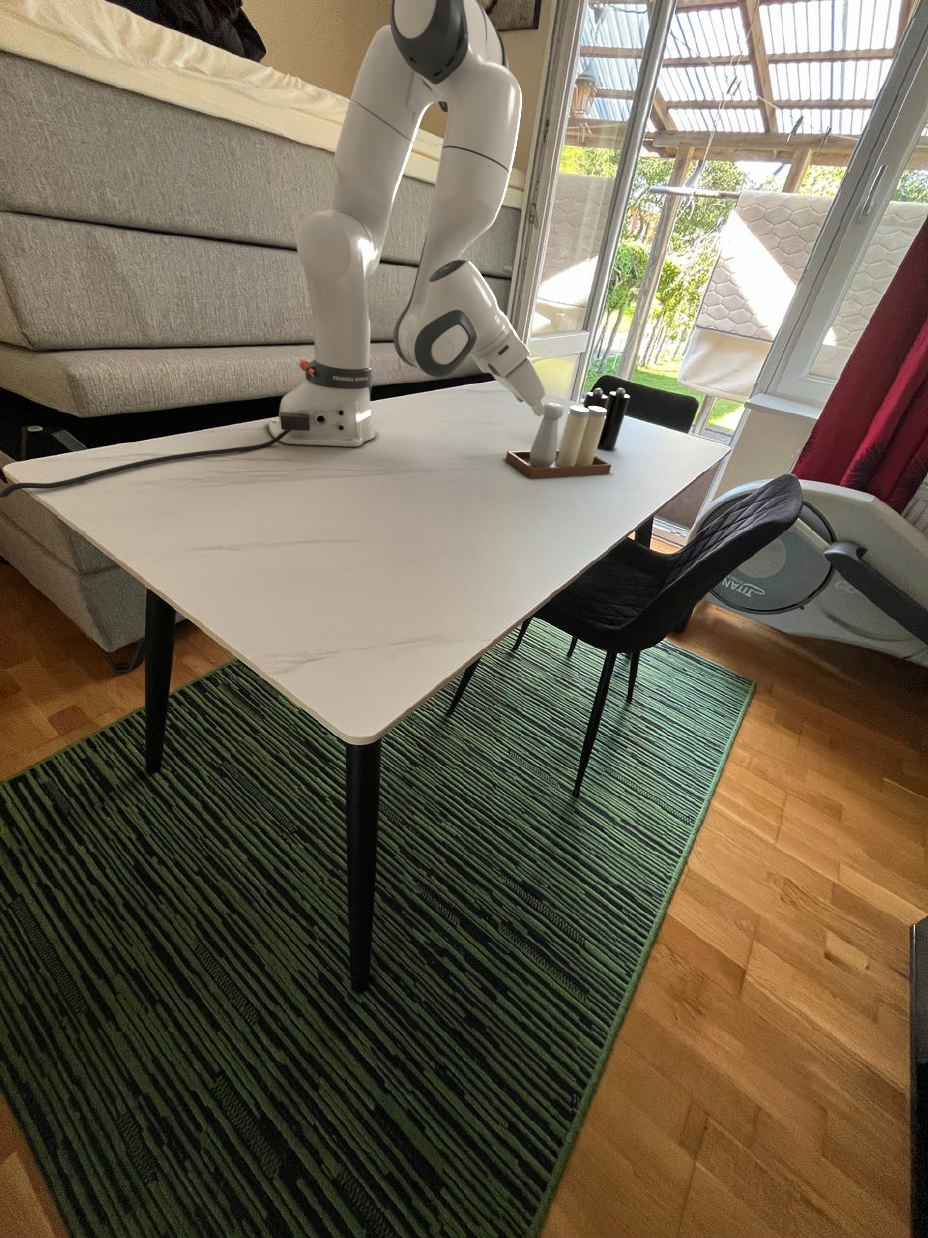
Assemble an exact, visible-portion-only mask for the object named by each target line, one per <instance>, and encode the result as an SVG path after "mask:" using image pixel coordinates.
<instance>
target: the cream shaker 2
mask: <svg viewBox="0 0 928 1238" xmlns="http://www.w3.org/2000/svg"><path fill="white" fill-rule="evenodd" d="M588 410H589V413H588V420H587V423H586V427H585V431H584V435H583V438H582V442H581V446H580V449H579V453H578V457H577V460H576V465H579V466H580V465H592V463H593V460H594V457H595V456H596V453H597V449H598V448H597V446H598V443H599V439H600V436H601V433H602V429H603V426H604V422H605V419H606V416H605V415H606V412H607V410H605V409H603V408H600V407H595V406H590V407H589V408H588Z"/></svg>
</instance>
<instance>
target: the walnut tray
mask: <svg viewBox="0 0 928 1238" xmlns="http://www.w3.org/2000/svg"><path fill="white" fill-rule="evenodd" d="M530 451H531V449H530V450H508V451H506V456H505V461H506V462H508V463H509V464H510V465H512V466H513V467H514V468H516V469H517V470H519V471H520V472H521V473H523V474H524V475H525V476H527V477H528V478H530V479H544V478H545V479H547V478H560V477H562V478H563V477H578V476H592V475H593V476H594V475H606V474H607V475H609V474H610V472H611V469H612V464H611V463H609V462H607V461H605V460H603V459H602V458H600V457H598V456H596V455H595V457H594V460H593V463H592V465H580V466H579V465H576V464H575V466H559V465H557V464H556V460H557V455H558V451H559V449H557V450H556V458H555V461H554V462H553V463H552V465H551V466H550V467H542V468H536V467H534V466H533V465H532V464H531V461H530Z"/></svg>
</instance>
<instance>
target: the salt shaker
mask: <svg viewBox="0 0 928 1238" xmlns="http://www.w3.org/2000/svg"><path fill="white" fill-rule="evenodd" d="M543 407H544V409H545V412H544V413H543V414H542V415H543V417H542V419H541V422H540V425H539V428H538V430H537V433H536V435H535V438H534V441H533V443H532V446H531V448H530V450H531V451H530V450H529V451H530V461H531V464H532V465H533V466H534V467H536V468H542V467H550V466H551V465H552V463H553V462H554V461H555V458H556V450H558V449H557V447H558V428H559V427H558V426H559V419H561V418H562V417H563V414H564V407H563V406H562V405H560V404H558V403H554V402H546V403H545V404H544V405H543Z"/></svg>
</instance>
